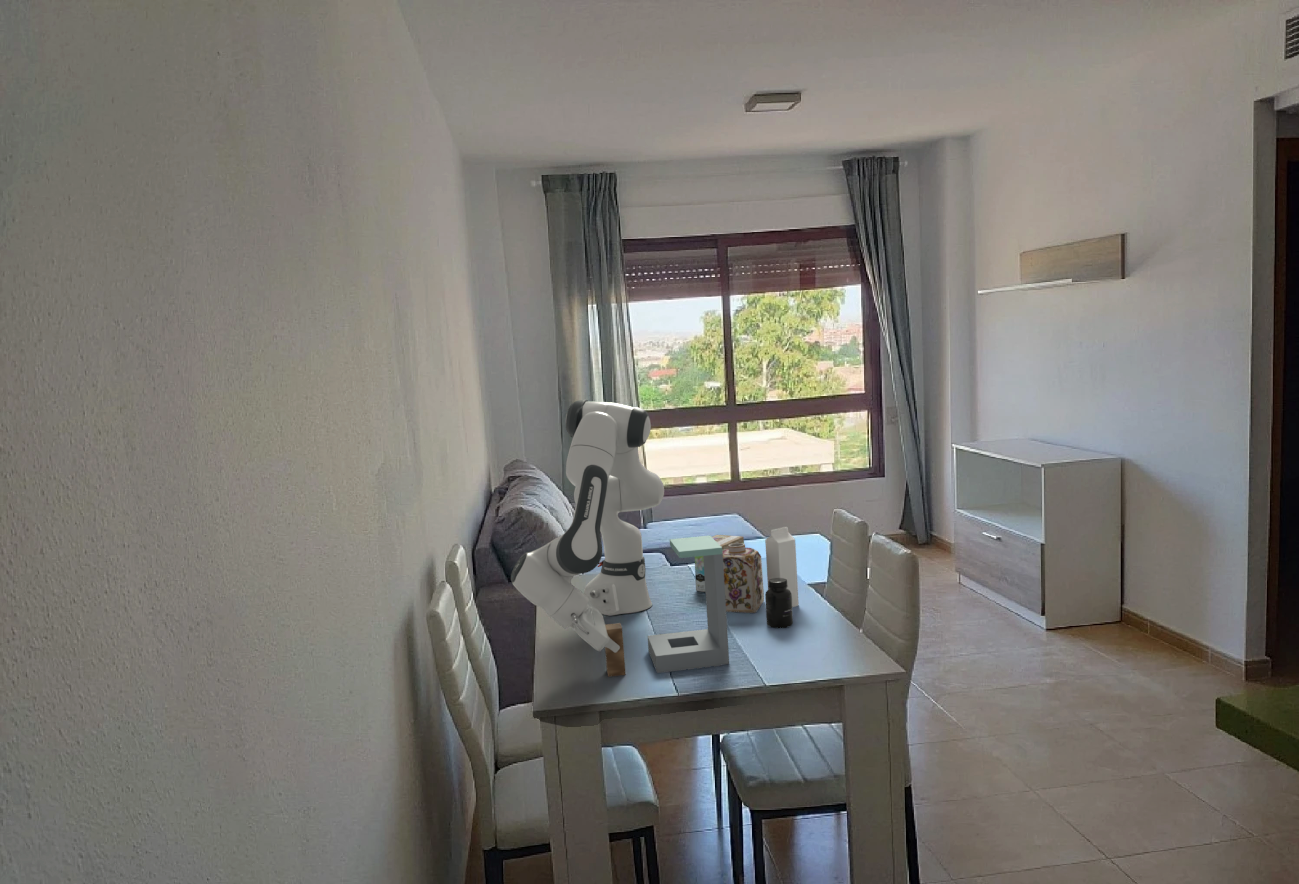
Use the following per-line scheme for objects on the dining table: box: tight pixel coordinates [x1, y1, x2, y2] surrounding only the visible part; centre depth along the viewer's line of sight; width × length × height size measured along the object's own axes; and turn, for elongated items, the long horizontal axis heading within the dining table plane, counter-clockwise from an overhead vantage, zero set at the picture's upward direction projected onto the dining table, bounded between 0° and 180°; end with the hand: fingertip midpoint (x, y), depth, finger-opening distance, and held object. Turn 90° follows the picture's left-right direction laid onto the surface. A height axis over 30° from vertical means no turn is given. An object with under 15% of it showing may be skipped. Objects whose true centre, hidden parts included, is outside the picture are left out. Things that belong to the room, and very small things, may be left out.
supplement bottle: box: [764, 578, 794, 629], centre depth 229 cm, size 7×7×12 cm
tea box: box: [694, 534, 745, 593], centre depth 269 cm, size 15×10×15 cm, turn 148°
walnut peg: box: [604, 622, 626, 678], centre depth 202 cm, size 4×4×11 cm
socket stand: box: [647, 535, 730, 674], centre depth 208 cm, size 17×15×28 cm
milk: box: [764, 526, 800, 608], centre depth 245 cm, size 6×6×22 cm
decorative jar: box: [722, 542, 765, 614], centre depth 247 cm, size 12×12×18 cm
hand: (616, 645), depth 202 cm, fingers closed on walnut peg, 4 cm apart
